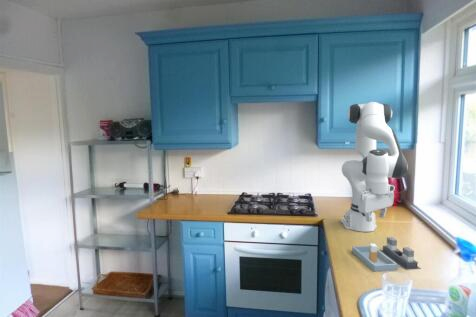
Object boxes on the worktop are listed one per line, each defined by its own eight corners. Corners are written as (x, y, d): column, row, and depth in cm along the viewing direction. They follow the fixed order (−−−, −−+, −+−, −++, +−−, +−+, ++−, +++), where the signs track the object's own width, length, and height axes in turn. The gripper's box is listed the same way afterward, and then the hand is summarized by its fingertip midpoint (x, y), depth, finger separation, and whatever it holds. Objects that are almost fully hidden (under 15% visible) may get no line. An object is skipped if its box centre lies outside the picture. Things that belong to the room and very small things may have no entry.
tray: (351, 253, 152) (352, 246, 152) (372, 252, 153) (372, 245, 153) (374, 273, 132) (374, 265, 132) (397, 272, 133) (397, 264, 133)
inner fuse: (386, 251, 152) (387, 237, 151) (391, 251, 152) (391, 237, 151) (391, 255, 148) (392, 240, 147) (396, 255, 148) (396, 240, 147)
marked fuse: (369, 258, 145) (369, 243, 144) (374, 258, 144) (375, 243, 144) (370, 261, 141) (371, 246, 140) (376, 262, 141) (377, 246, 140)
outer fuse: (401, 263, 140) (402, 247, 139) (407, 262, 140) (408, 247, 139) (407, 267, 136) (408, 251, 135) (413, 266, 136) (414, 250, 135)
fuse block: (379, 252, 153) (379, 245, 153) (393, 251, 154) (393, 244, 154) (405, 272, 134) (405, 263, 133) (421, 271, 134) (421, 263, 134)
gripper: (368, 193, 130) (366, 226, 132) (397, 186, 141) (395, 216, 143) (354, 190, 135) (353, 222, 137) (383, 183, 147) (382, 213, 148)
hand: (375, 219), depth 140 cm, fingers open, 8 cm apart
